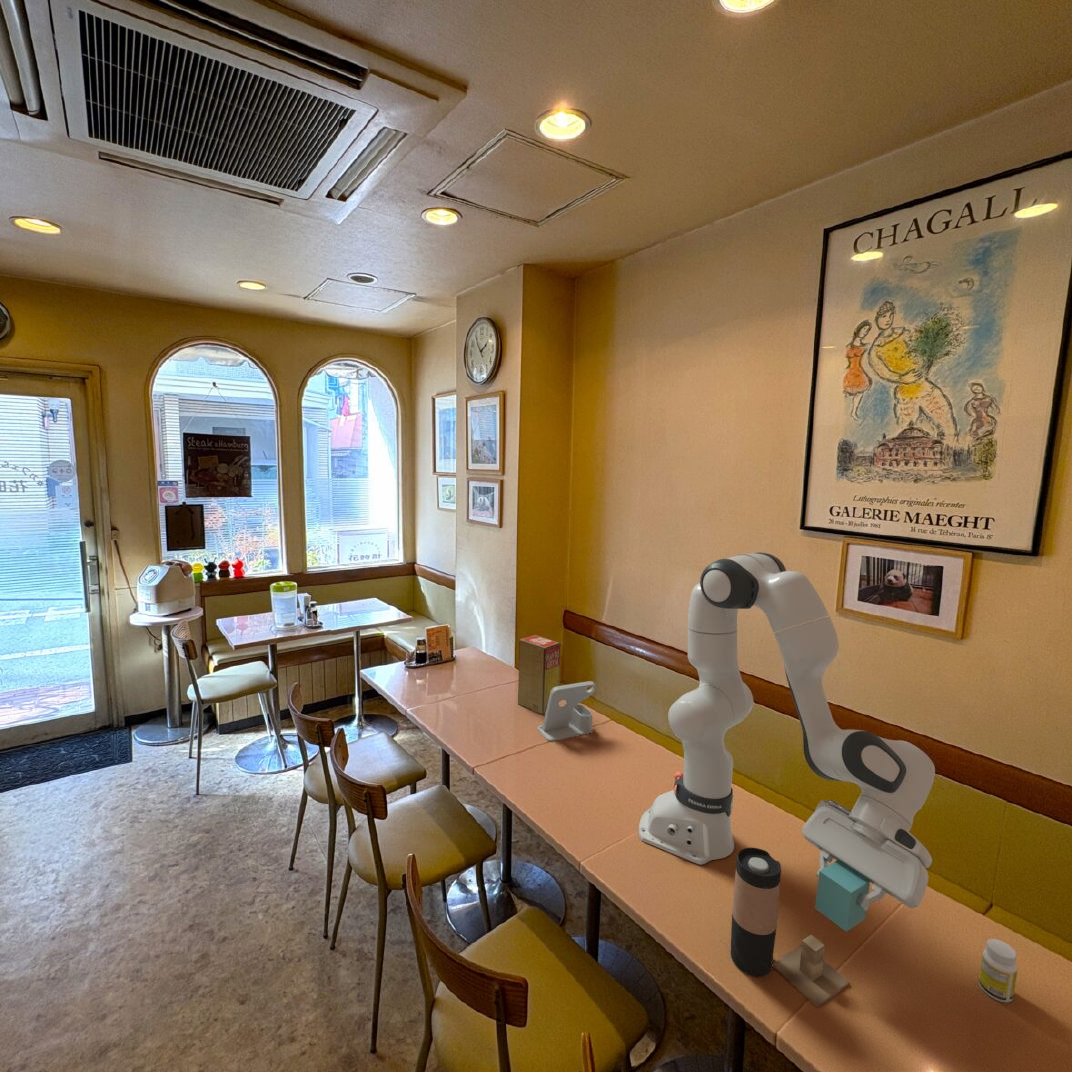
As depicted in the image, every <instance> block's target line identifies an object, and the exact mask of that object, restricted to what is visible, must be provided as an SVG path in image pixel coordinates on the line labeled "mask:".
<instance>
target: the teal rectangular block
mask: <svg viewBox="0 0 1072 1072" xmlns="http://www.w3.org/2000/svg"><path fill="white" fill-rule="evenodd" d="M870 884H871V882H870V880H869V879H867V878H866V877H864V876H863V875H861V874H859V873H858V872H856V871H855V870H853V869H852V868H850V867H849V866H847V865H846V864H844V863H842V862H841V861H839V860H836V861H834V862H832V863H829V864H828V865H827V867H825V868H824V869H822V870H820V871H819V878H818V881H817V890H816V897H815V906H814V907H815V910H817V911H818V912H820V913H821V914H822V915H823V916H825V917H826V918H827V919H828V920H830V921H831V922H833V923H834V924H835V925H836V926H838V927H839V928H841V929H842V930H843V931H844V932H846V933H847V932H849V931H850V930H852V929H853V928H854V927H855V926H857V925H859V924H860V923H862V922H863V921H864V920H865V919H866V916H867V915H866V914H867V911H865V910H864V909H863V908H861V907H860V906H858V905H857V904H856V900H857V898H858V896H859V894H860V893H861V894H862V895H864V896H865V895H867V894H869V893H870V887H871V886H870Z"/></svg>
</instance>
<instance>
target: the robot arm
mask: <svg viewBox="0 0 1072 1072" xmlns="http://www.w3.org/2000/svg"><path fill="white" fill-rule="evenodd" d="M699 580H700V581H699V583H697V584H695V585H694V587H692V590H691V593H690V596H689V597H690V598H689V603H688V610H687V611H688V612H687V659H688V662H689V664H691V666H693V667H694V668H695V669H696V670H697V674H698V678H699V685H698V687H697V688H695V689H693V690H691V691H688V692H686V693H684V694H682V695H680V697H679V698H678V699H677V700H675V702H674V703H673V704H671V706H670V708H669V710H668V715H667V716H668V717H667V718H668V723H669V727H670V729H671V731H672V733H673V734H674V735H675V736H676V738H678V739H679V740H680V741H681V743H682V748H683V753H684V755H683V759H684V760H683V772H682V771H677V772H676V773H675V776H674V785H673V789H672V790H669V791H667V792H664V793H661V794H660V795H658V796H656V798H655V800H654V801H653V802H652V805H651V807H649V808H648V809H646V810H645V812H644V813H643V814H642V816H641V818H640V821H639V824H638V835H639V838H640V840H641V841H643V842H644V843H647V844H649V845H650V846H654V847H656V848H659V849H661V850H664V851H665V852H668V853H670V854H672V855H676V856H678V857H680V858H682V859H684V860H687V861H689V862H692V863H695V864H697V865H705V864H707V863H708V862H710V861H713V860H716V861H717V860H721V859H724V858H727V857H728V856H731V854H732V853H733V851H734V849H735V842H734V837H733V833H732V824H731V814H732V812H733V802H734V794H733V793H734V792H733V787H732V781H733V768H734V760H733V757H732V755H731V753H730V752H729V751H728V750H727V749H726V747H725V739H724V738H725V735H726V732H727V731H728V730H729V729H730V728H732V727H734V726H736V725H738V724H741V723H742V722H743V721H744V719H746V717H747V716H748V715H749V713H751V711H752V709H753V707H754V695H753V694H752V690H750V689H751V688H749V686H748V685H747V683H745V682H744V681H743V679H742V675H741V672H740V671H741V670H740V667H739V663H738V661H739V658H738V612H739V610H741V609H743V610H749V609H751V608H752V607H756V608H759V609H760V610H761V611H762V612H763V613H764V614H765V616H766V617H767V620H768V623H769V624H770V627H771V630H772V633H773V635H774V637H775V640H776V642H777V644H778V648H779V651H780V654H781V658H782V661H783V666H784V667H783V668H784V672H785V676H786V681H787V684H788V687H789V690H790V694H791V697H792V701H793V703H794V706H795V710H796V712H797V716H798V719H799V722H800V723H799V724H800V726H801V730H802V737H803V739H802V740H803V741H802V743H803V746H802V748H803V749H802V750H803V755H804V758H805V761H806V763H807V765H808V767H809V768H810V770H811V771H812V772H813V773H814V774H815V775H817V776H819V778H821V779H824V780H826V781H836V782H837V781H838V782H847V783H852V784H856V785H857V786H858V787H859V788H860V790H861V793H860V795H859V797H858V798H857V800H856V802H855V804H854V805H853V808H852V809H849V808H847V807H845V806H843V805H841V804H839V803H838V802H837V801H835V800H833V799H824V800H823V799H822V800H820V801H819V803H818V804H817V805H816V807H815V809H814V812H813V813H812V815H810V817H809V818H808V819H807V821H806V822H805V823H804V824H803V826H802V828H801V830H802V836H803V837H804V839H805V840H806V841H807V842H808V843H809V844H811V845H813V846H814V847H816V849H819V850H820V853H819V866H820V867H819V869H818V871H817V872H816V877H817V878H818V879H819V871H820V870H822V869H824V868H825V867H827V866H828V863H829V864H832V863H831V862H832V861H833V860H836V861H837V860H839V861H841V862H842V863H844V864H846V865H847V866H849V867H850V868H852V869H853V870H855V871H856V872H858V873H859V874H861V875H863V876H864V877H866V878H867V879H869V880H870V884H872V885H871V889H872V891H871V892H869V894H867V895H865V896H864V895H862V894H861V893H860V894H859V896H858V898H857V900H856V904H857V905H858V906H860V907H861V908H863V909H864V910H865V911H866V912H867V911H868V910H869V908H870V906H871V904H872V903H875V902H877V901H881V900H882V899H883V898H884V897H885V895H886V894H889V896H891V897H892V898H894V899H896V900H897V901H899V902H900V903H902V904H904V905H905V906H907V907H908V908H910V909H913V908H917V907H919V906H920V905H921V902H922V901H923V898H924V896H925V892H926V889H927V886H928V884H929V883H928V882H929V874H928V871H927V869H928V868H930V867H931V865H932V863H933V858H932V856H931V855H930V853H929V851H928V849H927V848H926V847H925V846H924V845H923V843H921V841H920V840H918V839H917V837H915V836H914V835H913V834H912V833H911V832H910V831H911V829H912V826H913V823H914V817H915V815H916V814H917V812H918V811H919V810H921V809H922V808H923V806H924V804H925V802H926V800H927V798H928V796H929V794H930V791H931V789H932V787H933V784H934V780H935V776H936V775H935V774H936V768H935V765H934V762H933V761H932V759H931V758H930V756H928V754H927V753H926V752H924V751H923V750H922V749H921V748H920V747H918V746H916V745H915V744H912V743H911V742H909V741H906V740H898V739H897V740H894V739H888V738H883V737H880V736H878V735H876V734H875V733H873V732H871V731H867V730H860V729H841V727H839V726H838V725H837V724H836V722H835V721H834V720H835V719H834V718H833V715H832V711H831V709H830V706H829V703H828V700H827V697H826V693H825V691H824V688H823V676H824V673H825V671H826V670H827V668H828V667H829V666H830V664H831V665H832V663H833V662H834V660H835V659H836V656H837V654H838V651H839V648H840V643H839V639H838V634H837V631H836V628H835V626H834V623H833V621H832V619H831V616H830V614H829V612H828V610H827V607H826V606H825V604H824V603H823V602H824V601H823V600H822V598H821V596H820V595H819V593H818V591H817V590H816V589H815V587H814V585H813V584H812V582H810V580H809V578H808V577H807V576H806V575H805V574H803V573H802V572H799V571H795V570H787V568H786V567H785V565H784V563H783V562H782V560H780V559H779V557H777V556H776V555H774V554H770V553H766V552H758V551H757V552H754V553H740V554H736V555H733V556H731V557H727V558H720V559H717V560H715V561H713V562H711V563H709V564H708V565H707V566H706V567H705V568H704V569H703V571H702V573H701V575H700V578H699Z"/></svg>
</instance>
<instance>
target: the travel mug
mask: <svg viewBox="0 0 1072 1072" xmlns="http://www.w3.org/2000/svg"><path fill="white" fill-rule="evenodd" d="M735 862H736V865H735V873H734V874H735V876H734V886H733V898H732V906H731V907H732V908H731V909H732V910H731V926H730V927H731V928H730V929H731V930H730V931H731V932H730V957H731V961H732V963H733V964H734V966H736V968H738V970H740V971H741V972H743V973H744V974H746V975H748V976H752V977H755V978H757V977H758V978H759V977H760V978H762V977H766V976H767V975H768V974H769V973H770V972H771V969H772V964H773V958H774V957H773V956H774V951H775V950H774V949H775V943H776V935H777V927H778V926H777V925H778V917H779V916H778V915H779V912H778V911H779V902H780V888H781V878H782V877H781V876H782V865H781V863H780V861H779V860H775V859H774V858H773V857H772V855H771V854H770V853H769V852H768V851H766V850H765V849H761V848H758V847H745V848H742V849H740V850H739V851H738V852H737V855H736V861H735Z"/></svg>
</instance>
